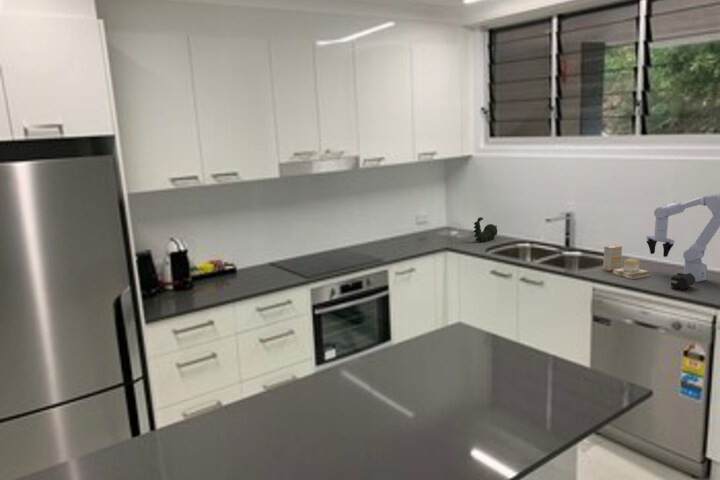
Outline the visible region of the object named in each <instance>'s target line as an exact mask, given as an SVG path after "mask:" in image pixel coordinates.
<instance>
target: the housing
mask: <svg viewBox="0 0 720 480" xmlns="http://www.w3.org/2000/svg"><path fill="white" fill-rule="evenodd" d="M622 268H623V271H626V272H635V271H637V270H639V269H640V258H632V257H630V258H627V259H624V261H623V267H622Z"/></svg>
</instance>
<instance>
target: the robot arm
mask: <svg viewBox="0 0 720 480" xmlns="http://www.w3.org/2000/svg"><path fill="white" fill-rule="evenodd" d="M699 205H701V206H703V207H705V206H706V207H707V209H708V210H710V212H711V214H712V217H711V218H710V220H709V221H708V223H707V224H706V226H705V227H704V228H703V230H702V232H701V233H700V234H699V235H698V237H697V239H696V240H695V241H694V243H693V244H691V245H690V246H689V248H688V249H685V250H684V252H683V254H682V257H683V259H684V265H683V274H688V273H691V274H692V275H693V276H694V277H695V282H696V283H697V282H702V281H707V280H708V278H707V273H708V266H707V264H705V263H704V262H702V259H703V257H704V256H705V252H706V250H707V246H708V244H709V243H710V241H712V239H713V237H714V236H715V235H716V233H717V231H718V230H719V229H720V193H716V194H709V195H704V196H698V197H696V198H694V199H690V200H688V201H684V202H682V201H677V200H675V201H672V203H669V204H664V205H663V206H658V207H656V208H655V210H654V213H653V214H654V217H655V221H654V234H653V236H652V235H646V243H647V246H648V248H649V252H650V255H653V254H655V252H656V247H657V243H658V242H659V243H662V249H663V252H662V253H663V257H664V258H667V257H668V256H669V253H670V251H671V250H672V248H673V246H674V244H675V240H674V239H671V238H668V237H667V236H668V225H669V217H671V216H672V217H673V216H675V215H679V214H681V213H683V212H685V210H686V209H688V208H692V207H696V206H699Z"/></svg>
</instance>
